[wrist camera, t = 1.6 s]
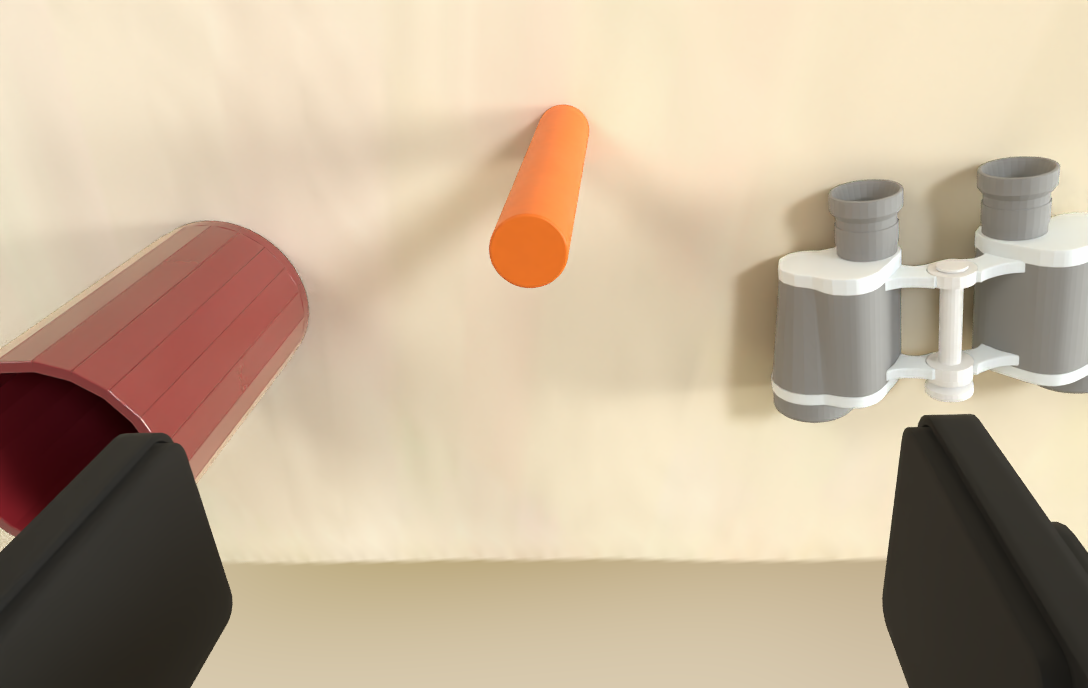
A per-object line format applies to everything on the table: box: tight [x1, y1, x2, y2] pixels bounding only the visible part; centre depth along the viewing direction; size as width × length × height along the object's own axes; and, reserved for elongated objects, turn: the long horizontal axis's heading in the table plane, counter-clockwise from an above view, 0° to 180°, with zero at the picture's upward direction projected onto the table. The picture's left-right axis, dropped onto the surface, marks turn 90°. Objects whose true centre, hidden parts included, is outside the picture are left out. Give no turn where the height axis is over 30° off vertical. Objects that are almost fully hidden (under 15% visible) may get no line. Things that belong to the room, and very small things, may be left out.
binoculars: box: [771, 157, 1088, 423], centre depth 29 cm, size 12×8×4 cm, turn 101°
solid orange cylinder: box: [489, 105, 589, 288], centre depth 24 cm, size 2×2×12 cm
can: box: [0, 221, 309, 537], centre depth 29 cm, size 7×7×12 cm
